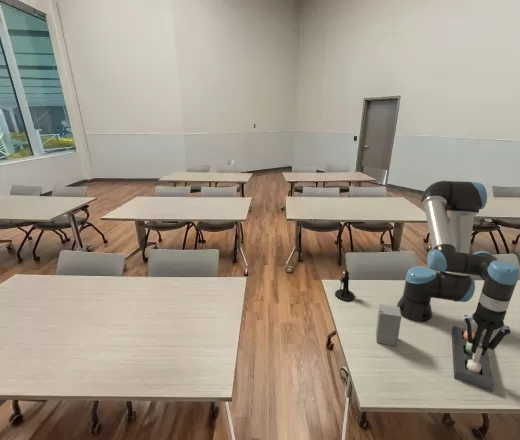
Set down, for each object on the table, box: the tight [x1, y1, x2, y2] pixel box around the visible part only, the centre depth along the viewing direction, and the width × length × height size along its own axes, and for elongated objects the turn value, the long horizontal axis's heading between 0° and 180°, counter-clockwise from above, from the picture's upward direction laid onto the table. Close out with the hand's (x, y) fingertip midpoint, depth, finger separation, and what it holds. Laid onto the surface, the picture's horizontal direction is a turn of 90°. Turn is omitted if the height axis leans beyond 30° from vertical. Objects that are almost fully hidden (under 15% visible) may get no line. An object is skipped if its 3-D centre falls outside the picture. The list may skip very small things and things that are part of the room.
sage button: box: [465, 341, 473, 355], centre depth 110 cm, size 4×4×4 cm
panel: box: [451, 325, 495, 393], centre depth 111 cm, size 11×28×4 cm, turn 149°
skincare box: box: [375, 303, 403, 347], centre depth 119 cm, size 8×7×16 cm
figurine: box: [334, 270, 355, 302], centre depth 150 cm, size 10×10×15 cm
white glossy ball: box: [466, 359, 482, 374], centre depth 104 cm, size 4×4×4 cm
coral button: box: [463, 330, 475, 340], centre depth 118 cm, size 4×4×4 cm
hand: (475, 359), depth 103 cm, fingers closed
